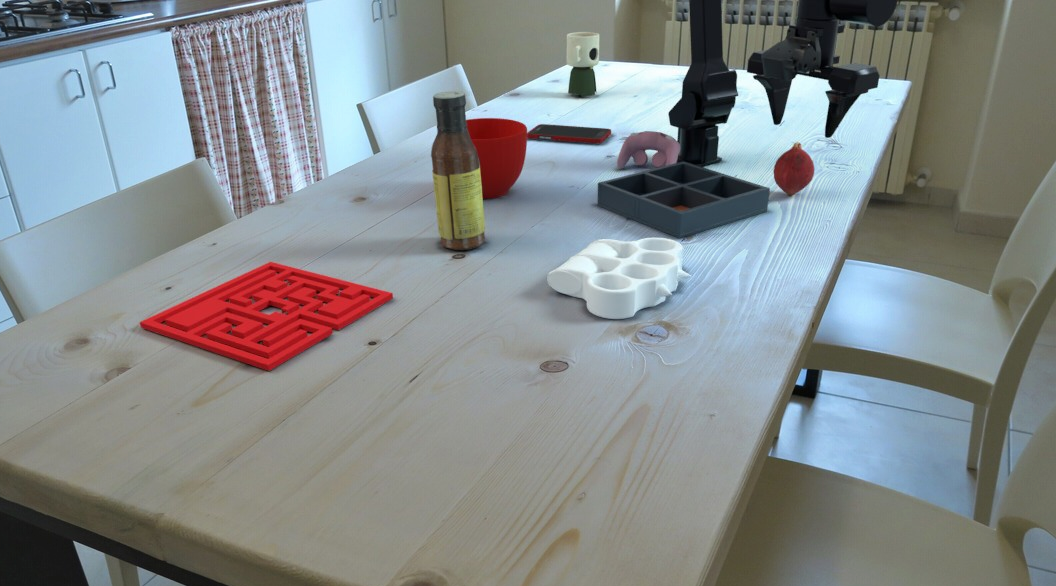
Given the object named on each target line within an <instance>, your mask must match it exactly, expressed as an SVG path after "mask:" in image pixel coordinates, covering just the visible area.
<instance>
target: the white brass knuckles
mask: <svg viewBox="0 0 1056 586" xmlns="http://www.w3.org/2000/svg"><path fill="white" fill-rule="evenodd" d="M587 245H588V246H587V247H585V248H584V249H582V250H581V251H579V252H578V253H576V254H574V255H572V256H571V257H569V258H568V260H567V261H565V262H564V263H563V264H561V265H560V266H558V267H557V268H555V269H553V270H551V271H549V272H548V273H547V277H546V281H547V284H548V285H549V287H551V289H553V290H554V291H556V292H558V293H561V294H564V295H567V296H570V297H573V298H579V299H583V300H585V301H586V308H587V310H588V311H589V312H590V313H591V314H593V315H594V316H597V317H599V318H604V319H609V320H623V319H629V318H633V317H634V316H635V314H636V313H637V312H638V311H640V310H642V309H646V308H653V307H656V306H658V305H660V304H662V303H664V302H665V301H666V297H669V296H673V292H676V291H677V288H678V285H679V282H680V281H684V280H686V279H688V278H691V277H692V275H691V274H689V273H688V272H687V271H684V270H683V258H684V257H683V256H684V246H683V245H682V244H681V243H680V242H678V241H677V240H673V239H670V238H665V237H645V238H641V239H640V238H639V239H638V240H633V241H632V240H631V241H623V240H617V239H611V238H604V239H603V238H599V239H596V240H594V241H592V242H590V243H588V244H587Z"/></svg>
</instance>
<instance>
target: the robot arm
mask: <svg viewBox="0 0 1056 586" xmlns="http://www.w3.org/2000/svg"><path fill="white" fill-rule="evenodd" d="M898 2H899V0H798V2H797V9H796V17H795V23H794V24H789V25H788V28H787V31H786V36H785V38H784V39H783V40H781V41H777V43H775V44H774V45H772V46H771V47H770V48H768V49H763V50H758V51H753V52H752V54H751V55H750V57H749V58H748V59H747V67H746V73H748V74H754V75H752V78H753V79H754V80H756V81H758V82H759V83H760V84H761V85H762V87H763V88H764V90H765V93H766V97H767V100H768V104H769V109H770V113H771V117H772V122H773V125H774V126H779V125H781V123H782V120H783V118H784V115H785V111H786V106H787V104H788V103H787V102H788V99H789V96H790V90H791V88H792V82H793V80H794V79H796V77H797V75H798V76H805V77H809V78H814V79H818V80H819V79H820V80H825V81H827V84H828V86H829V87H830V89H829V90H825V91H824V92H825V93H824V94H825V96H826V97H827V99H828V107H827V114H826V120H825V127H824V137H825V139H830V138H832V137H833V135H834V134H835V132H836V131H837V129H838V127H839V126H840V125H841V123H842V122H843V120H844V117H845V116H846V115H847V113H848V112H849V111H850V109H851V108H852V107H853V105H854V104H855V103H856V101H858V99H859V97H861V95H863V94H867V93H869V90H873V89H878V86H879V82H880V77H881V76H880V72H879V70H878V67H877V66H875V65H869V64H864V63H859V62H852V63H848V64H842V65H838V66H834V65H837V64H839V63H840V58H841V56H840V55H837V54H835V52H836V45H837V40H838V39H837V38H838V34H843V33H844V32H845V27H846V25H845V24H840V21H841V22H845V23H852V24H857V25H858V24H859V25H864V26H871V27H877V28H878V27H881V26H884V25H885V24H886V23H888V21H890V19H891V18H892V17H893V15H894V13H895V11H896V8H897V5H898ZM722 7H723V5H722V0H688V9H689V28H690V29H689V32H690V33H689V34H690V58H691V59H690V60H691V61H690V65H689V67H688V68H687V69H688V70H687V72H686V74H685V76H684V78H683V81H682V86H681V97H680V98H679V100H678V101H677V102H676V103H675V104H674V105H673V107H671V109H670V110H669V111H668V121H669V125H670V126H671V127H674V128H677V139H676V141H678V143H679V144H680V152H679V154H678V159H677V162H676V163H679V162H683V161H684V162H687V163H690V164H694V165H697V166H700V167H704V166H707V165H711V164H715V163H719V162H722V161H723V158H722V157H720V156H718V152H719V142H720V137H719V126H718V125H721V124H723V125H724V124H727V123H728V120H729V117H730V115H731V112H732V110H733V108H735V106H736V99H737V98H736V97H739V92H738V86H737V83H738V82H737V81H738V73H737V70H736V69H732V70H731V69H729V67H728V66H727V64H726V62H725V60H724V49H723V48H724V47H723V46H724V45H723V43H724V42H723V14H722V13H723V10H722V9H723V8H722Z"/></svg>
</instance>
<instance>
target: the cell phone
mask: <svg viewBox="0 0 1056 586" xmlns="http://www.w3.org/2000/svg"><path fill="white" fill-rule="evenodd" d="M611 135H612V129H611V128H607V127H606V128H605V127H588V126H577V125H576V126H575V125H560V124H547V123H540V124H537V125H536V126H535V127H533V128H532V129H530V130H529V131H527V139H533V140H534V139H535V140H545V141H546V140H547V141H558V142H570V143H582V144H583V143H585V144H599V145H600V144H602V143H604V142H605V141H606V139H609V137H610V136H611Z"/></svg>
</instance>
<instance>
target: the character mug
mask: <svg viewBox="0 0 1056 586" xmlns="http://www.w3.org/2000/svg"><path fill="white" fill-rule="evenodd" d="M599 63H600V33H598V32H592V31H578V32H577V31H576V32H570V33H567V34H566V65H568V66H570V67H572V68H571V70H570V72H569V73H570V74H569V80H568V89H567V90H568V91H567V93H568V94H570V95H577V96H578V97H579V98H582V96H583V97H591V96H593V95H596V94H597V81H596V72H595V69H594V67H595V66H597V65H599Z"/></svg>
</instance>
